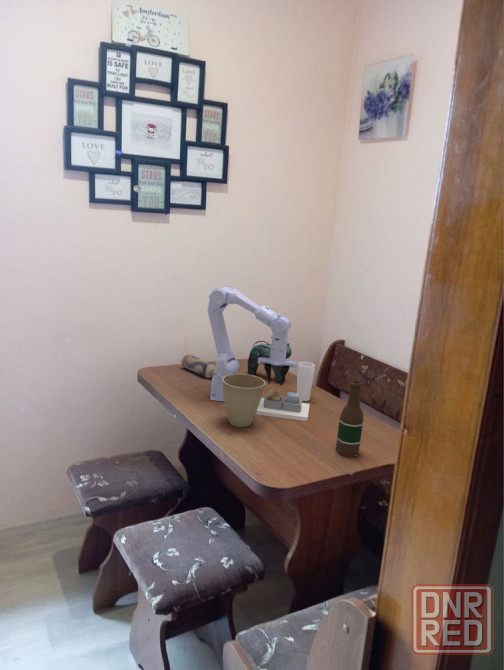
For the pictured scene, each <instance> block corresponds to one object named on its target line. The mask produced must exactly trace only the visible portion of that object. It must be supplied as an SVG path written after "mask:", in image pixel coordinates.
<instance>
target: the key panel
mask: <svg viewBox="0 0 504 670" xmlns="http://www.w3.org/2000/svg"><path fill="white" fill-rule="evenodd" d="M286 398H287V396H284V395H283V396H282V395H281V396H280V400H279V401H274V400H268V393H267V394H265V396H264V397H262V398H261V401H260V404H259V406H258V409H257V411H256V414H255V415H256V416H257V415H258V416H265V417H272V418H273V417H274V418H281V419H286V420H296V421H302V422H303V421H304V422H308V420H309V412H310V403H306V402H303V401H302V400H301V399H300V398H299V400H298V404H297V403H289V402H286Z"/></svg>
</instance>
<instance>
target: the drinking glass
mask: <svg viewBox="0 0 504 670" xmlns="http://www.w3.org/2000/svg"><path fill="white" fill-rule="evenodd" d="M315 368H316V365H315V364H314V363H313V362H308V361H299V362H297V370H296V371H297V374H296V375H297V376H296V393H299V398H300V399H301V400H302V402H308V401H309V400H310V398H311V393H312V387H313V382H314V378H315V372H316V371H315V370H316V369H315Z"/></svg>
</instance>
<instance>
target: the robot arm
mask: <svg viewBox="0 0 504 670" xmlns="http://www.w3.org/2000/svg"><path fill="white" fill-rule="evenodd" d="M208 298H209V302H208V306H207V315H208V319H209V322H210V327H211V331H212V336H213V340H214V343H215V348H216V353H217V356H216V358H215V366H216V370H215V371H216V374H217V375H214V376H213V378H211V384H210V396H209V397H210V398H209V400H210V401H218V402H224V403H225V401H224V395H223V382H222V379H223V377H225V376H227V375H231V374H237V373H238V372H239V370H240V362H239V361H238V360H237V358H236V355H235V353H234V352H233V351H232V349H231V343H230V339H229V336H228V332H227V327H226V322H225V319H224V314H223V312H224V310H225V309H226V307H227V306H228V305H238V306H240V307H242V308H243V309H245V310H247V311H248V312H251V313H253V315H254V316H255V319H256V320H257V321H260V322H261V323H263V324H264V325H265V326H268V328H270V330H271V332H272V336H271V337H272V338H271V343H270V344H271V355H270V358H260V357H259V358H258V364H260V365H263V364H265V365H263V368H264V370H265V374H266V376H267V384H268V385H270V384H271V381H272V365H277V366H283V368H282V378H281V383H280V386H283V384H284V383H283V381H284V378H285V379H286V376H287V374H288V372H289V370H290V368H294V369H298V361H293V360H288V359H286V349H287V343H288V335H289V330H290V328H291V327H292V323H291V320H290V318H288V317H287V316H286V315H282V314H281V313H277V312H276V311H274V310H273V309H271V307H270V306H268V305H258V304H257V303H255V302H254V301H253V300H251V299H250V298H249V297H247V296H245V295H244V294H243V293H242V292H240V291H239V290H238V289H236V288H234V287H233V286H231V285H226V286H223V287H219V288H215V289H213V290H212V292H211V293H210V294H209V295H208ZM285 359H286V360H285Z"/></svg>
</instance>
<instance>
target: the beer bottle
mask: <svg viewBox="0 0 504 670" xmlns="http://www.w3.org/2000/svg"><path fill="white" fill-rule="evenodd" d="M362 387H363V384H362V382H360V381H359V380H352V381H351V382H350V389H349V395H348V400H347V403H346V405H345V406H344V407H343V408H342V411H341V412H340V416H339V420H338V421H339V422H338V428H337V429H338V430H337V434H336V435H337V436H336V446H335V452H336V451H337V452H338V453H337V452H336V453H337V454H339V455H340V454H341V456H342V455H345V456H344V457H347V456H354V457H356V456H355V455H357V456H359V451H360V446H361V439H362V432H363V424H364V411H363V409H362V407H361V404H360V403H361V402H360V401H361V391H362V390H361V388H362Z"/></svg>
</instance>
